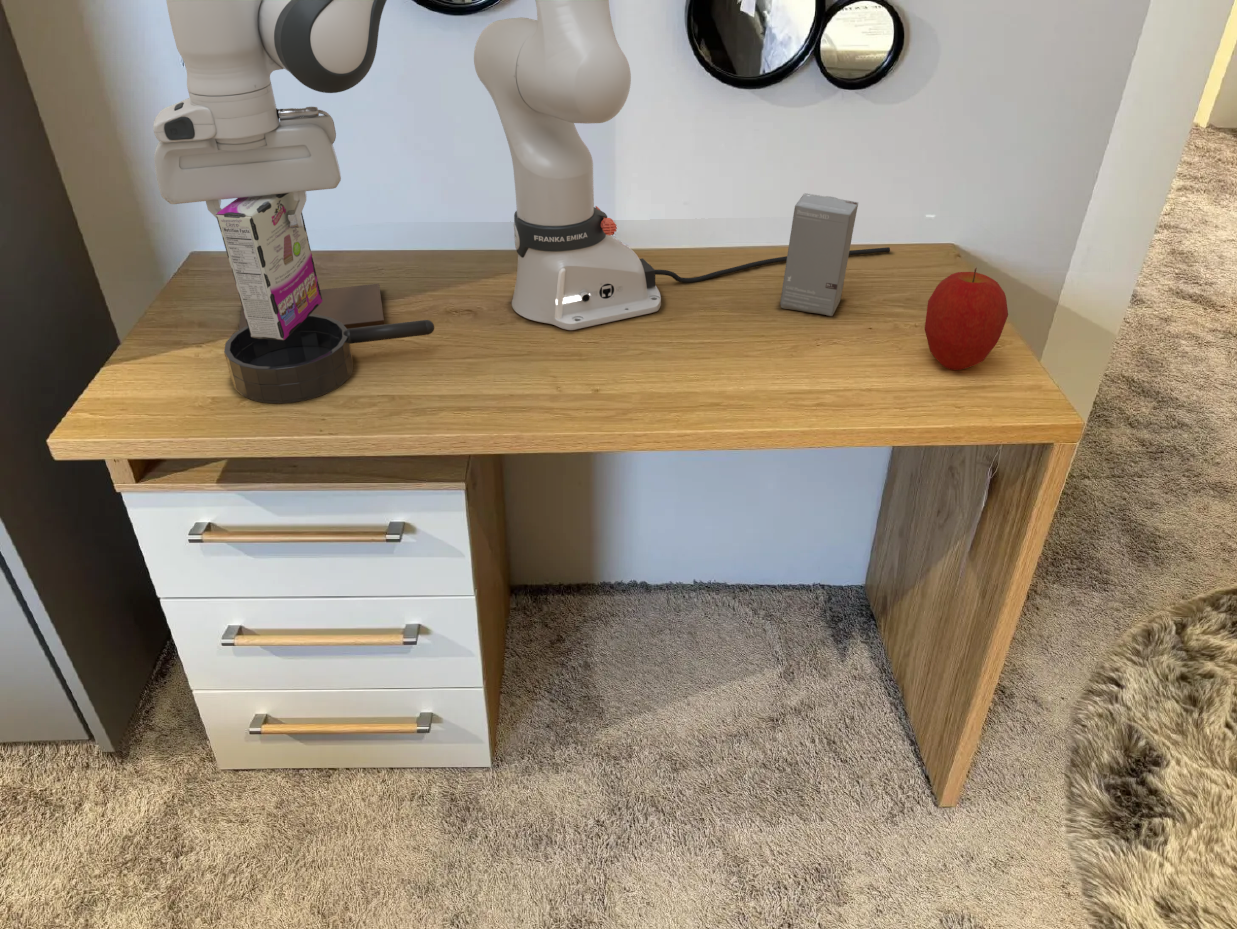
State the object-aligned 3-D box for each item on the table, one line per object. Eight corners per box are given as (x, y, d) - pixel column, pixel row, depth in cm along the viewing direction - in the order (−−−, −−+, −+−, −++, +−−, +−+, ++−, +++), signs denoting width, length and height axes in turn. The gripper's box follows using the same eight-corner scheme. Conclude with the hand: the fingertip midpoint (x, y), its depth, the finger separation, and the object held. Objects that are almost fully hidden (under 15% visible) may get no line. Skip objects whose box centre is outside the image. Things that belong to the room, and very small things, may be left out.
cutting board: (380, 292, 148) (378, 283, 147) (385, 329, 138) (383, 319, 137) (245, 306, 144) (242, 297, 143) (239, 346, 134) (237, 336, 133)
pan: (351, 340, 135) (345, 308, 132) (355, 394, 123) (349, 360, 120) (237, 353, 132) (228, 320, 129) (229, 410, 120) (220, 375, 117)
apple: (1008, 379, 126) (1034, 281, 118) (935, 385, 125) (957, 286, 117) (972, 343, 134) (994, 248, 126) (904, 348, 133) (922, 253, 125)
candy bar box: (289, 299, 128) (261, 178, 119) (324, 302, 127) (298, 181, 118) (247, 338, 119) (212, 211, 110) (284, 342, 118) (252, 214, 109)
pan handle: (434, 329, 130) (432, 316, 129) (435, 336, 129) (434, 322, 127) (343, 340, 128) (341, 326, 127) (344, 347, 126) (341, 333, 125)
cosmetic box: (779, 309, 143) (789, 206, 134) (790, 290, 149) (801, 190, 140) (835, 318, 141) (850, 213, 132) (845, 299, 146) (859, 197, 137)
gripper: (330, 97, 113) (351, 211, 121) (145, 112, 109) (179, 229, 117) (331, 112, 108) (352, 229, 116) (137, 128, 104) (173, 248, 112)
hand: (264, 229), depth 116 cm, fingers closed on candy bar box, 6 cm apart
